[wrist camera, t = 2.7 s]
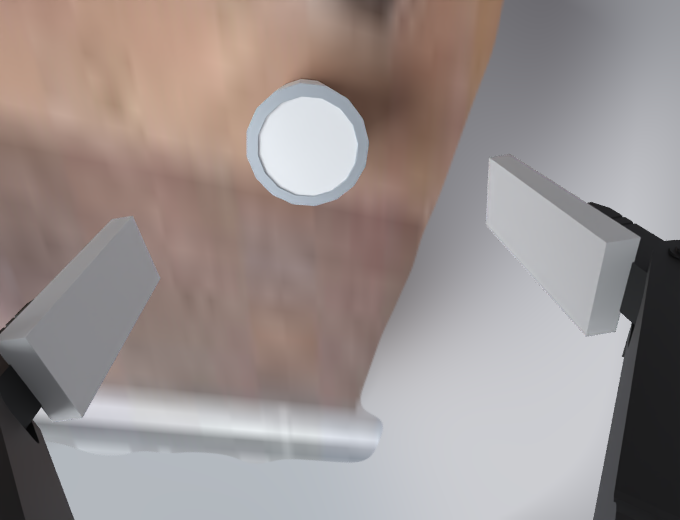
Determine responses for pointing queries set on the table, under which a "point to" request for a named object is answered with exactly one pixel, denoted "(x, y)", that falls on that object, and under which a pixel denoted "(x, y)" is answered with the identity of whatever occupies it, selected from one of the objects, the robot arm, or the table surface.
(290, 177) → the shot glass
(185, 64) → the table surface
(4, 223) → the table surface
